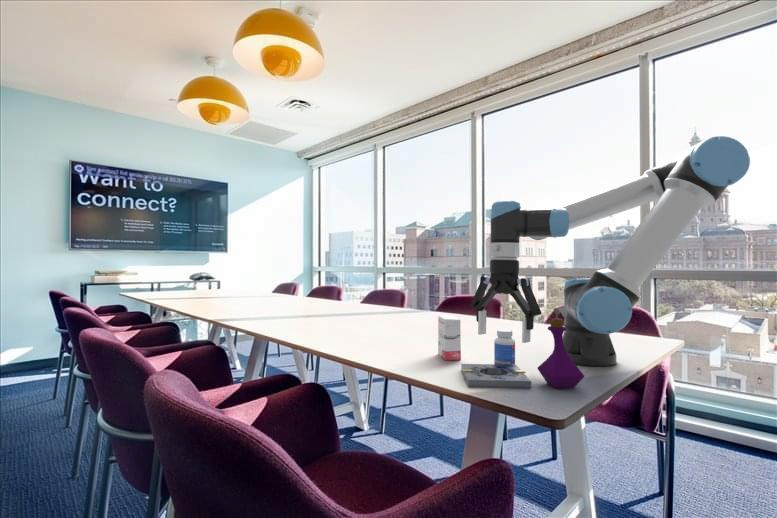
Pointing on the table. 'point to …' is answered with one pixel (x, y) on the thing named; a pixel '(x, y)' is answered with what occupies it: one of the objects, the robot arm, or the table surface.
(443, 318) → the ink box
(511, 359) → the pill bottle
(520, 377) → the socket plate
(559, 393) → the table surface
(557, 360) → the perfume bottle
